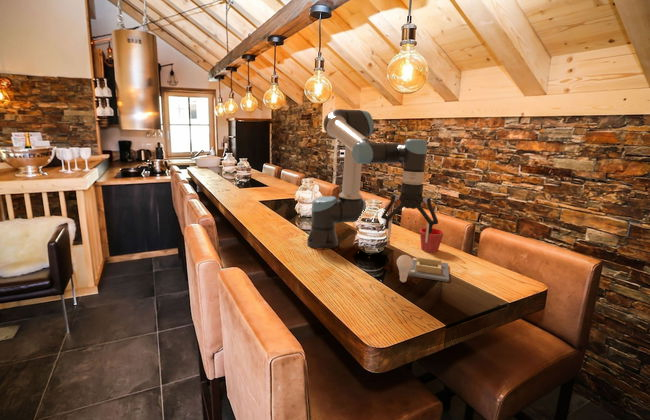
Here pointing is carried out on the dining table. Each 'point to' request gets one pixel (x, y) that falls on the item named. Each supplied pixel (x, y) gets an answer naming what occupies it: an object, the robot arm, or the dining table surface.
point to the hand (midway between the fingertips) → (407, 239)
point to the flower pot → (431, 240)
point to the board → (429, 269)
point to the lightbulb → (404, 266)
